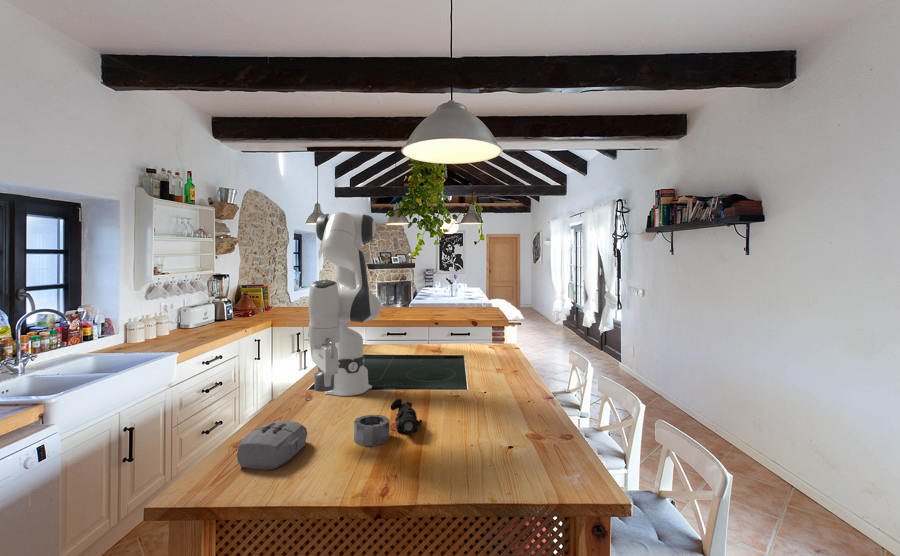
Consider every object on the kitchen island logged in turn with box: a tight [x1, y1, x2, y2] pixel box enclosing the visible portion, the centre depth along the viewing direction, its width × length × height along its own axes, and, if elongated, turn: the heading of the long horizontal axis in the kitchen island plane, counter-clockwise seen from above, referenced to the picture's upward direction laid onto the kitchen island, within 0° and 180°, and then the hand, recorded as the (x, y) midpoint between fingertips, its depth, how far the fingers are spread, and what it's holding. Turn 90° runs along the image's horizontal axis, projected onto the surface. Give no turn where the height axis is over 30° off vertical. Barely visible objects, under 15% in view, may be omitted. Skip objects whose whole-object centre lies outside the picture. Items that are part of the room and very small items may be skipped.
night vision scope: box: [390, 398, 423, 434], centre depth 140 cm, size 8×18×10 cm
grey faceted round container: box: [353, 414, 390, 447], centre depth 132 cm, size 10×10×6 cm
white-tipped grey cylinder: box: [313, 371, 334, 393], centre depth 131 cm, size 6×6×5 cm
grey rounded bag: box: [236, 420, 308, 471], centre depth 122 cm, size 15×8×20 cm
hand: (324, 382), depth 131 cm, fingers closed on white-tipped grey cylinder, 6 cm apart
